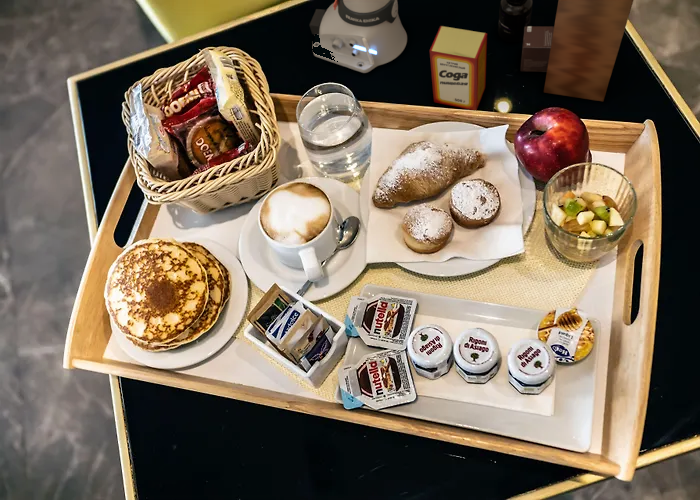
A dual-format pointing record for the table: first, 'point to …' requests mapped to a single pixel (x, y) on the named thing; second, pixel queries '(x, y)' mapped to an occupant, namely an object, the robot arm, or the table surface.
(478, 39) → the baking soda box
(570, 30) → the wooden high-back chair
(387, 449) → the table surface
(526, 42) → the box
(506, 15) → the supplement bottle
